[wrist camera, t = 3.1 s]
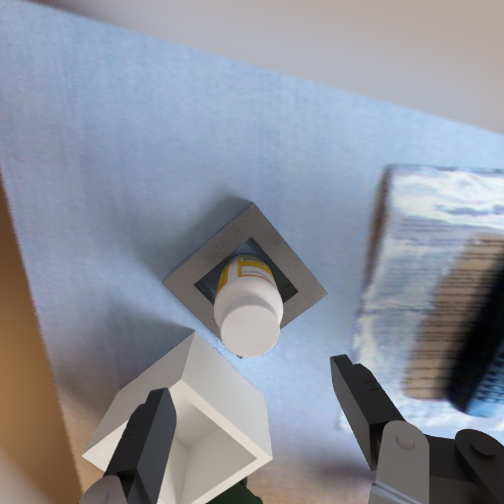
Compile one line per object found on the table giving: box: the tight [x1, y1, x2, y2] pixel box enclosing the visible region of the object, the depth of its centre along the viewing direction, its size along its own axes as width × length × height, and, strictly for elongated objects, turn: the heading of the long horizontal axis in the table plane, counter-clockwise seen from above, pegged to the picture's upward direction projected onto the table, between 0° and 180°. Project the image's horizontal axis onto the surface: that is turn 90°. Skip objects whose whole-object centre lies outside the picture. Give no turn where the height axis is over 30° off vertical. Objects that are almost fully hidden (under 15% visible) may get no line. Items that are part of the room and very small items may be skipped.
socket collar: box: [162, 202, 328, 359], centre depth 25 cm, size 11×11×2 cm
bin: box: [81, 330, 273, 504], centre depth 26 cm, size 12×12×7 cm
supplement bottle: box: [214, 254, 283, 357], centre depth 21 cm, size 5×5×10 cm
